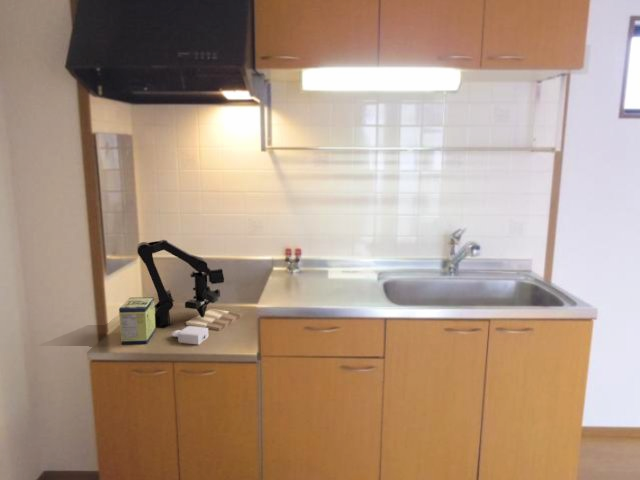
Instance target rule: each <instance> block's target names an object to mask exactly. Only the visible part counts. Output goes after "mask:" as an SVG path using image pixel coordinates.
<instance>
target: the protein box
mask: <svg viewBox="0 0 640 480" xmlns="http://www.w3.org/2000/svg"><path fill="white" fill-rule="evenodd" d="M154 306H155V298H154V296H152V297H151V296H150V297H149V296H147V297H146V296H145V297H129V298H128V299H127V300H126V301H125V302H124V303H123V304H122V305H121V306H119V309H118V311H119V326H120V327H119V328H120V342H121V345H147V344H148V343H149V341H150V340H151V338H152V337H153V335H154V334H155V332H156V327H155V307H154Z"/></svg>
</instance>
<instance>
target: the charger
mask: <svg viewBox="0 0 640 480" xmlns="http://www.w3.org/2000/svg"><path fill="white" fill-rule="evenodd" d="M169 335H171V336H172V338H173V337H174V338H177V342H178V343H180V344H187V345H188V344H189V345H195V346H196V345H198V346H199V345H201V344H202V343H203V342H204V341H205V340H206V339H208V338H209V329H208V328H203V327H195V326H188V325H187V326H186V327H184V328H183V329H181V330H180V329H176V330H175V331H174V330H173V331H171V332H170V333H169Z"/></svg>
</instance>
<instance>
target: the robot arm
mask: <svg viewBox="0 0 640 480" xmlns="http://www.w3.org/2000/svg"><path fill="white" fill-rule="evenodd" d="M136 250H137V254H138V256H139V257H140V260H142V262H143V263H144V264H145V266H146V269H147V271H148V273H149V275H150V276H149V277H150V278H151V281H152V284H153V286H154V289H155V291H156V294H157V300H158V302H157V303H156V304H154V309H155V328H160V329H165V328H167V327H169V326H171V325H173V322H171V318H170V317H171V316H170V314H171V313H170V310H172V309H173V307H174V302H175V300H174V297H173V295H172V293H171V290H170V289H169V290H167V289H166V288H165V285H164V284H163V281H162V278H161V276H160V273H159V271H158V268H157V266H156V264H155V261H154V255H153V254H156V253H158V252H161V251H165V252H167V253H168V254H171V255H173V256H174V257H176V258H178V259H180V260H182V262H183V261H184V262H185V263H186V264H188V265H189V266H190V267H191V268H193V271H192V272H191V273H190V274H189V277H190V278H194V287H193V288H192V290H193V291H194V295H193V299H189V300H187V301H185V303H184V308H185V309H190V310H191V309H192V310H197V312H198V315H200V316H201V317H204V315H205V312H206V311H207V307H208V306H209V305H210V304H215V303H216V302H218V300H219V298H220V297H221V290H220V289H218V288H217V289H215V290H211V286H208V283H210V284H211V285H216V284H224V282H225V277H224V272H223V268H217V269H211V268H210V267H209V266H208V263H207V261H206V260H205V258H203V257H201V256H197V255H195V254H190V253H188V252H187V251H185V250H183V249H181V248H180V247H178V246H176V245H174V244H173V243H171V242H169V241H168V240H166V239H161V240H158V241H157V240H156V241H150V242H147V241H142V242H140V243H139V244H137V247H136ZM194 270H195V271H194Z"/></svg>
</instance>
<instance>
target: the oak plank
mask: <svg viewBox="0 0 640 480" xmlns="http://www.w3.org/2000/svg"><path fill="white" fill-rule="evenodd" d="M227 313H229V311H228V310H222V309H214V308H210V309H208V310H206V311H205V315H204V317H201V316H200V314H198V315H196V316H195V317H193V318H191V319H189V320H187V321H185V325H186V326H187V327H188V326H193V327H203V328H206V326H207V325H208V324H210V323H212V322H214V321H215V320H217V319H219V318H220V317H222V316H224V315H226V314H227Z"/></svg>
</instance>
